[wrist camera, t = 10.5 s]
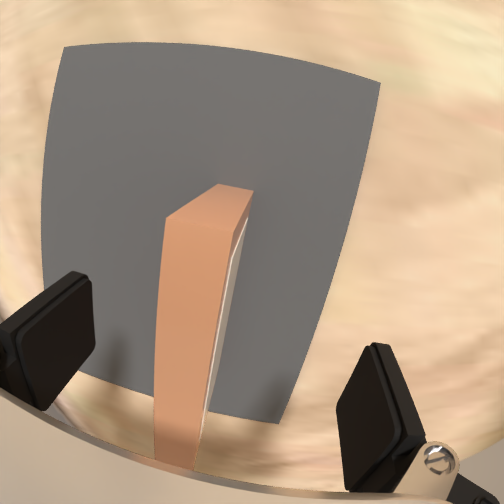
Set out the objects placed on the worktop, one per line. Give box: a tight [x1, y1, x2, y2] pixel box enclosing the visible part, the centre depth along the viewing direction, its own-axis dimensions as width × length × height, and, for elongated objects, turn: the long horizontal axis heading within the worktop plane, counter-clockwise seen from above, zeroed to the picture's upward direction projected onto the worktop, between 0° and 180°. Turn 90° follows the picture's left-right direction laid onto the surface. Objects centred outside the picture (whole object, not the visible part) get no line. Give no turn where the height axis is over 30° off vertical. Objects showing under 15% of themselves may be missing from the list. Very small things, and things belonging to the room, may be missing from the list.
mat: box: [41, 42, 381, 424], centre depth 15 cm, size 20×16×1 cm
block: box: [154, 184, 254, 470], centre depth 12 cm, size 10×2×7 cm, turn 169°
